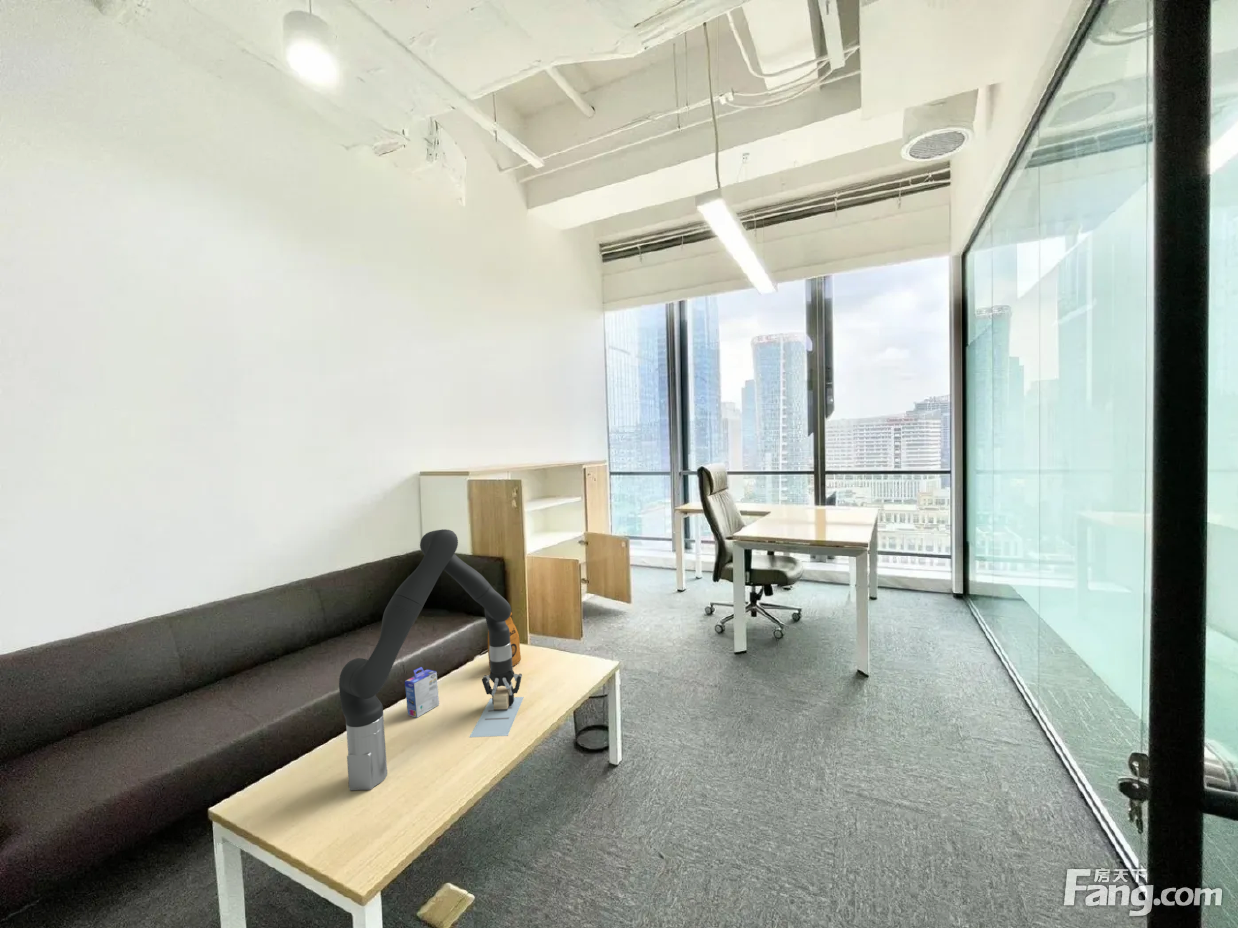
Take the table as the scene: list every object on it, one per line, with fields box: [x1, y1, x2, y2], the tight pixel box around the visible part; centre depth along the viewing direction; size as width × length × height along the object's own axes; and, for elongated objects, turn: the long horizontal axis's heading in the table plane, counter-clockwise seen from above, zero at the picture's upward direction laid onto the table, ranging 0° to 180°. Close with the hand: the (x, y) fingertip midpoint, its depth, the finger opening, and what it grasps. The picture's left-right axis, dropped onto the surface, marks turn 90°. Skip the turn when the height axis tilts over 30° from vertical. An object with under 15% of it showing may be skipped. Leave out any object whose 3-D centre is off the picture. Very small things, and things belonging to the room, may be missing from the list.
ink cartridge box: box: [404, 666, 440, 719], centre depth 175 cm, size 10×6×14 cm, turn 151°
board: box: [469, 696, 524, 738], centre depth 166 cm, size 24×12×2 cm, turn 179°
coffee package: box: [487, 611, 522, 670], centre depth 208 cm, size 10×12×22 cm
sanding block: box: [493, 686, 509, 711], centre depth 173 cm, size 8×4×5 cm, turn 179°
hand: (503, 704), depth 173 cm, fingers closed on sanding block, 4 cm apart
